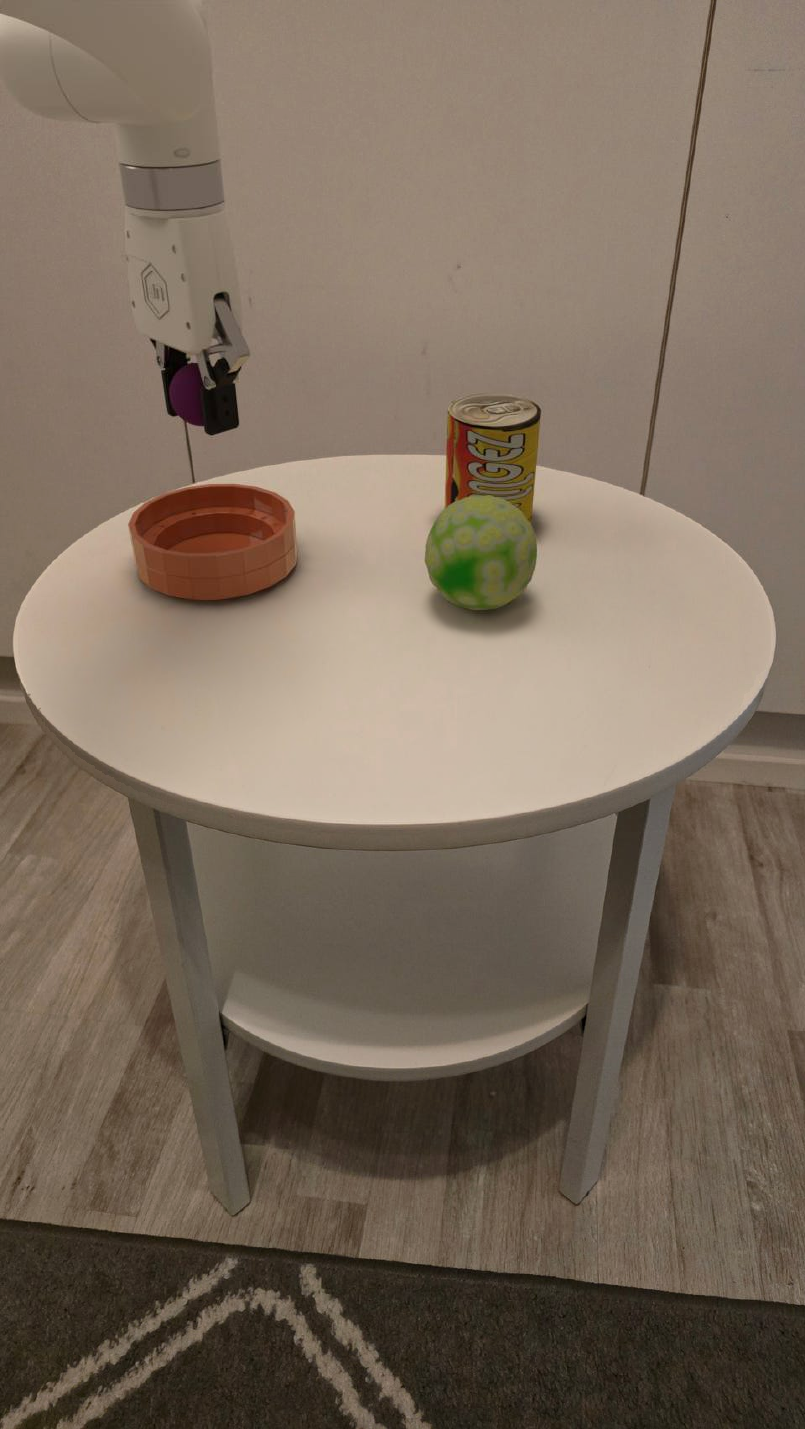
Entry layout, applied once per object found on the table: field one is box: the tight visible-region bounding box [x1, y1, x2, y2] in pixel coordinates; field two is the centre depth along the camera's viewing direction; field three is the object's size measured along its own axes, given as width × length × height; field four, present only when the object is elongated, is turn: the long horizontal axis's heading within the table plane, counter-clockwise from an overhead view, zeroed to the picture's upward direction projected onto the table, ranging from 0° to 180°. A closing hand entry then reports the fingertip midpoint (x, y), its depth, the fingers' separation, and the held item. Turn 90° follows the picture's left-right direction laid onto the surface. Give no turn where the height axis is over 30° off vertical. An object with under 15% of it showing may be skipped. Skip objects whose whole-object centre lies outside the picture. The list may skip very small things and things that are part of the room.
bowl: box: [127, 483, 298, 601], centre depth 93 cm, size 15×15×5 cm
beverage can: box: [444, 393, 542, 525], centre depth 98 cm, size 9×9×12 cm
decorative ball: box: [424, 495, 538, 611], centre depth 86 cm, size 10×10×10 cm
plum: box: [169, 362, 214, 427], centre depth 84 cm, size 5×5×5 cm
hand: (203, 419), depth 85 cm, fingers closed on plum, 5 cm apart
